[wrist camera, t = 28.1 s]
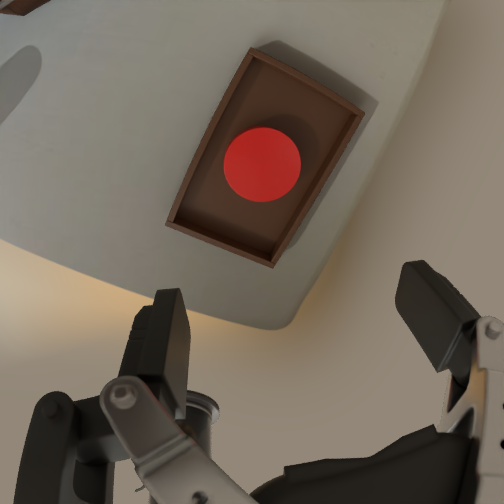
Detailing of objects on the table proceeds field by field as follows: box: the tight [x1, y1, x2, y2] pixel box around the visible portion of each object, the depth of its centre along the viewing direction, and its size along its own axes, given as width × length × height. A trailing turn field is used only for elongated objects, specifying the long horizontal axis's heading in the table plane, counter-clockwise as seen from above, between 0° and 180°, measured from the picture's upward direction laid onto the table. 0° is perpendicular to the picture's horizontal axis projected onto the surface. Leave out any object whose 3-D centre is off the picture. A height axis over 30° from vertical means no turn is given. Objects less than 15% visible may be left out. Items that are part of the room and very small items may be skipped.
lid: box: [224, 126, 301, 202], centre depth 25 cm, size 6×6×2 cm
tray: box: [165, 48, 365, 268], centre depth 25 cm, size 17×11×2 cm, turn 153°
